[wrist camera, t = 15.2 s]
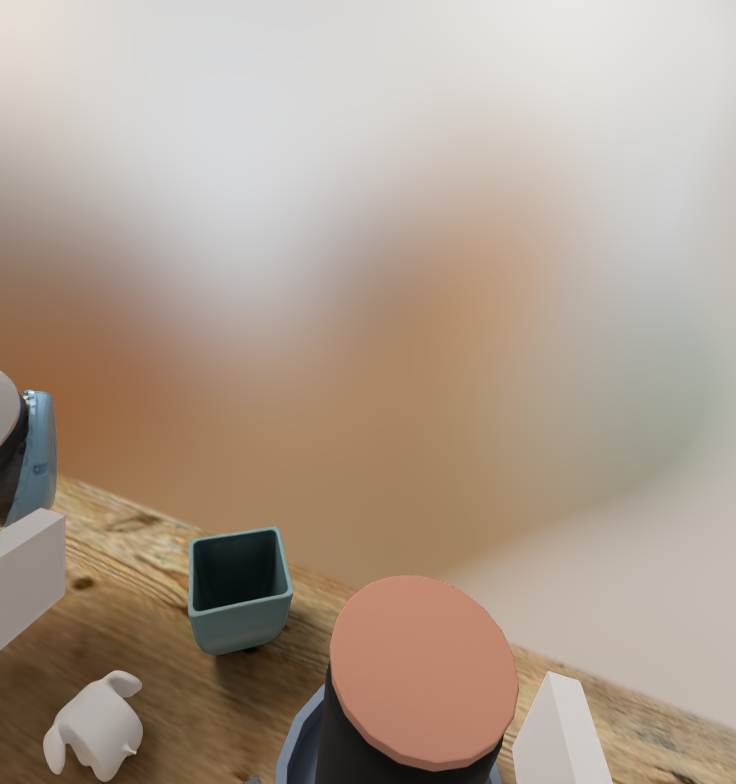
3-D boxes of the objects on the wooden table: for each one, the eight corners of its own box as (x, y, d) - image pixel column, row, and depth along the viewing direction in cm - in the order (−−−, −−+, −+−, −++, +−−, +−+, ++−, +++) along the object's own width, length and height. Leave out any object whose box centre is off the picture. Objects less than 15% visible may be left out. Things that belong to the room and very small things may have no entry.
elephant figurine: (111, 684, 38) (101, 640, 36) (178, 734, 35) (172, 691, 33) (28, 765, 33) (8, 720, 30) (99, 833, 30) (84, 790, 27)
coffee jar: (369, 967, 25) (416, 825, 18) (286, 780, 33) (294, 622, 25) (486, 830, 31) (559, 680, 24) (394, 698, 39) (427, 551, 31)
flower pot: (291, 657, 42) (295, 593, 38) (194, 683, 39) (187, 617, 35) (277, 584, 49) (278, 524, 46) (194, 601, 46) (188, 539, 42)
